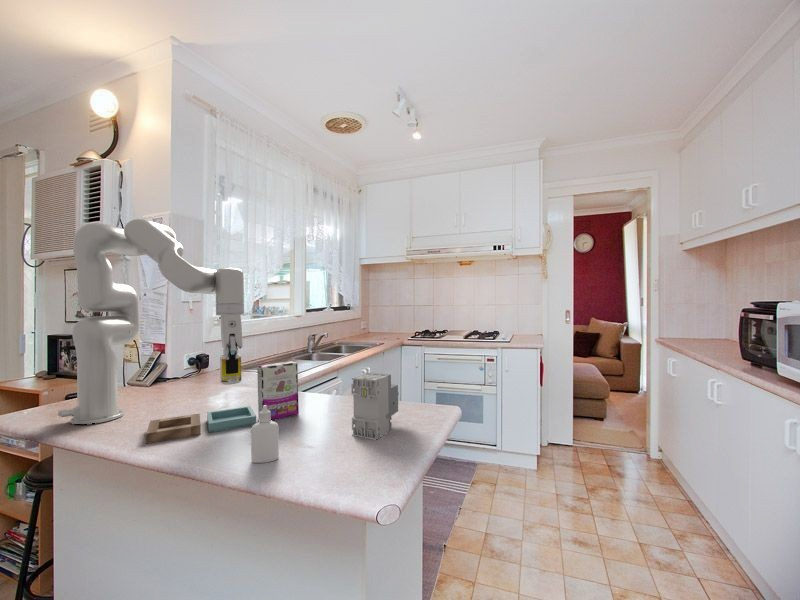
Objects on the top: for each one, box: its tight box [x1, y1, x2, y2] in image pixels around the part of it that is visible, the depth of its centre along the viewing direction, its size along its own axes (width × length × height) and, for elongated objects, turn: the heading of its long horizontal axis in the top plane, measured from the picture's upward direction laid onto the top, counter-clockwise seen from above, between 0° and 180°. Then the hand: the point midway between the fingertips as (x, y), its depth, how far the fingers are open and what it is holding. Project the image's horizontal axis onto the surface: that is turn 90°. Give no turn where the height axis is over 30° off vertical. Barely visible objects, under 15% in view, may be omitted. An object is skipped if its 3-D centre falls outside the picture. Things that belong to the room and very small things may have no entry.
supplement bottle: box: [219, 347, 242, 386], centre depth 105 cm, size 6×6×10 cm
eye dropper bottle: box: [250, 405, 280, 464], centre depth 79 cm, size 4×6×12 cm
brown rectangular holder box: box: [145, 413, 202, 445], centre depth 98 cm, size 12×12×2 cm
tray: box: [206, 405, 257, 434], centre depth 105 cm, size 12×12×2 cm
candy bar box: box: [256, 360, 300, 421], centre depth 110 cm, size 11×5×16 cm, turn 129°
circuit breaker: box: [350, 372, 399, 440], centre depth 98 cm, size 8×14×15 cm, turn 155°
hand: (231, 371), depth 105 cm, fingers closed on supplement bottle, 5 cm apart
